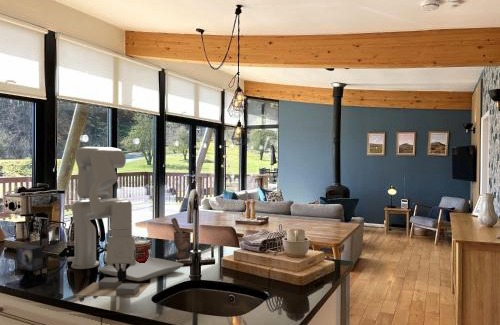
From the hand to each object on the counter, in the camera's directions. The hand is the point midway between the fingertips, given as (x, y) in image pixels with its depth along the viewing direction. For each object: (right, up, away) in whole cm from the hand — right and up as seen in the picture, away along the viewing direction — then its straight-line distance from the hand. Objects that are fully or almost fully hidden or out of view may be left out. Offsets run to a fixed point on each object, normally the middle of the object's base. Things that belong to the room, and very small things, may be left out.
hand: (121, 280), depth 159 cm
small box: (-54, -5, +36) cm, 65 cm away
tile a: (-11, -3, +8) cm, 14 cm away
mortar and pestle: (+12, -4, +57) cm, 59 cm away
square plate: (0, -5, +27) cm, 28 cm away
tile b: (-1, -3, 0) cm, 4 cm away
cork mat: (-4, -5, +4) cm, 8 cm away
